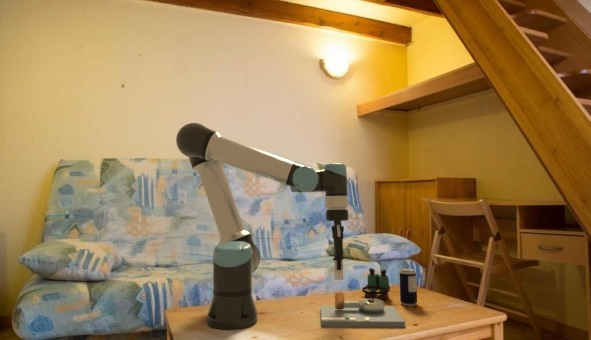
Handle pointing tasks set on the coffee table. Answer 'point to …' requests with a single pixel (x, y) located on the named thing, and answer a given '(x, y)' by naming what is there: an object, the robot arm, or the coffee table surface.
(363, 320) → the level board
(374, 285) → the binoculars
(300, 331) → the coffee table surface
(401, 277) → the beverage can
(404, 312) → the coffee table surface
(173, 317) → the coffee table surface
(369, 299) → the cam lever
